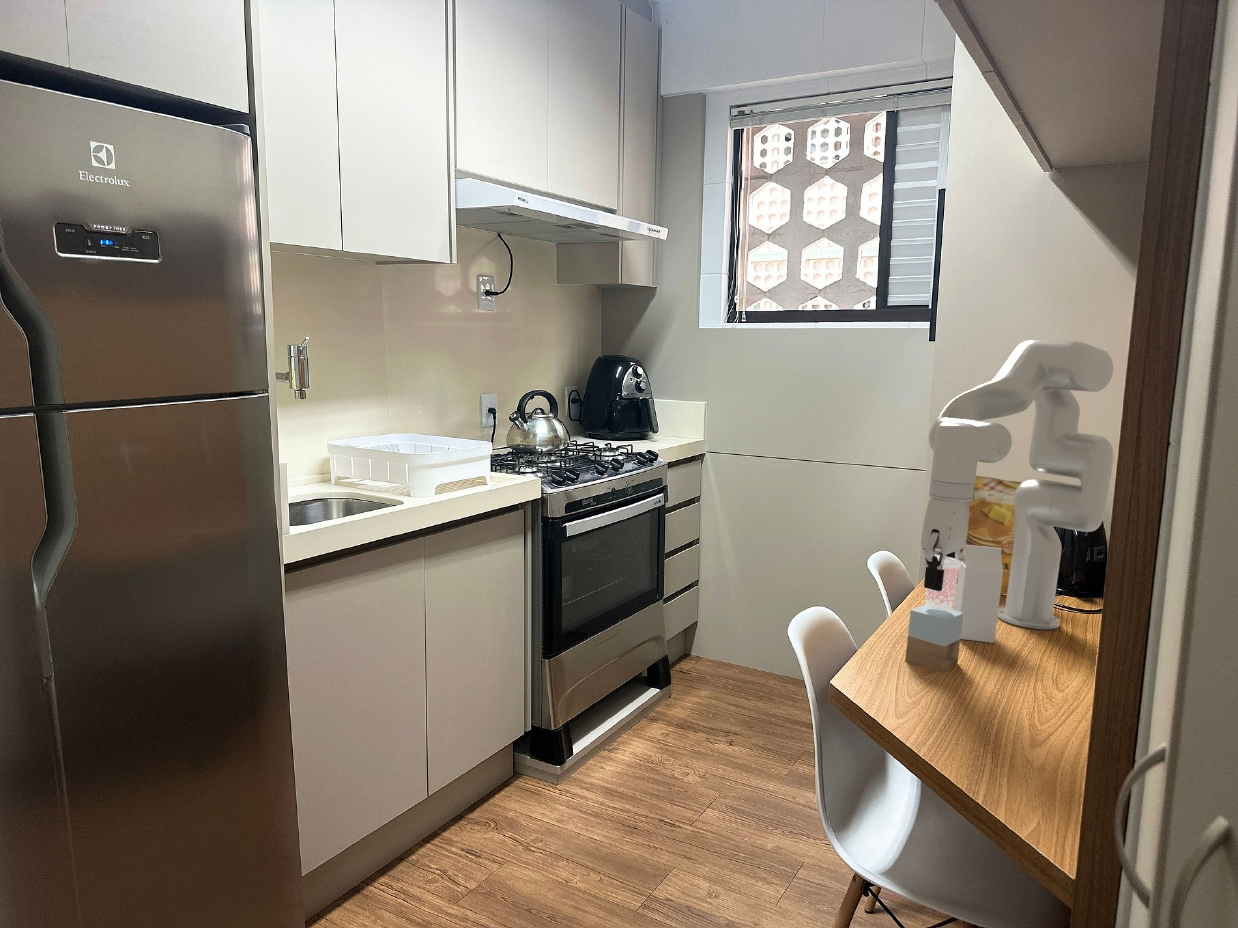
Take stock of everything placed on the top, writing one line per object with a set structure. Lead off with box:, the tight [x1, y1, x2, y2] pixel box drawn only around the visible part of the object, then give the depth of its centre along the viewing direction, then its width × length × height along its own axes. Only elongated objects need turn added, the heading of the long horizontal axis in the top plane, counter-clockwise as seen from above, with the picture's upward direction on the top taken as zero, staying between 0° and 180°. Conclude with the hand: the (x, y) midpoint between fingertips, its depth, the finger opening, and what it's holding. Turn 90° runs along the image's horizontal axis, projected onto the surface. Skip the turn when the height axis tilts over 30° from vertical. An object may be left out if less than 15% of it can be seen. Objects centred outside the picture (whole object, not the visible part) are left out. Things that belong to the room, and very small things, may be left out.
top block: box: [907, 603, 964, 647], centre depth 156 cm, size 7×7×5 cm
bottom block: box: [904, 635, 961, 673], centre depth 157 cm, size 7×7×5 cm
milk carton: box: [952, 545, 1003, 644], centre depth 172 cm, size 7×7×19 cm
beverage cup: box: [924, 555, 962, 611], centre depth 155 cm, size 6×6×14 cm
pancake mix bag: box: [961, 475, 1023, 594], centre depth 208 cm, size 7×19×28 cm, turn 56°
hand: (940, 585), depth 155 cm, fingers closed on beverage cup, 6 cm apart
